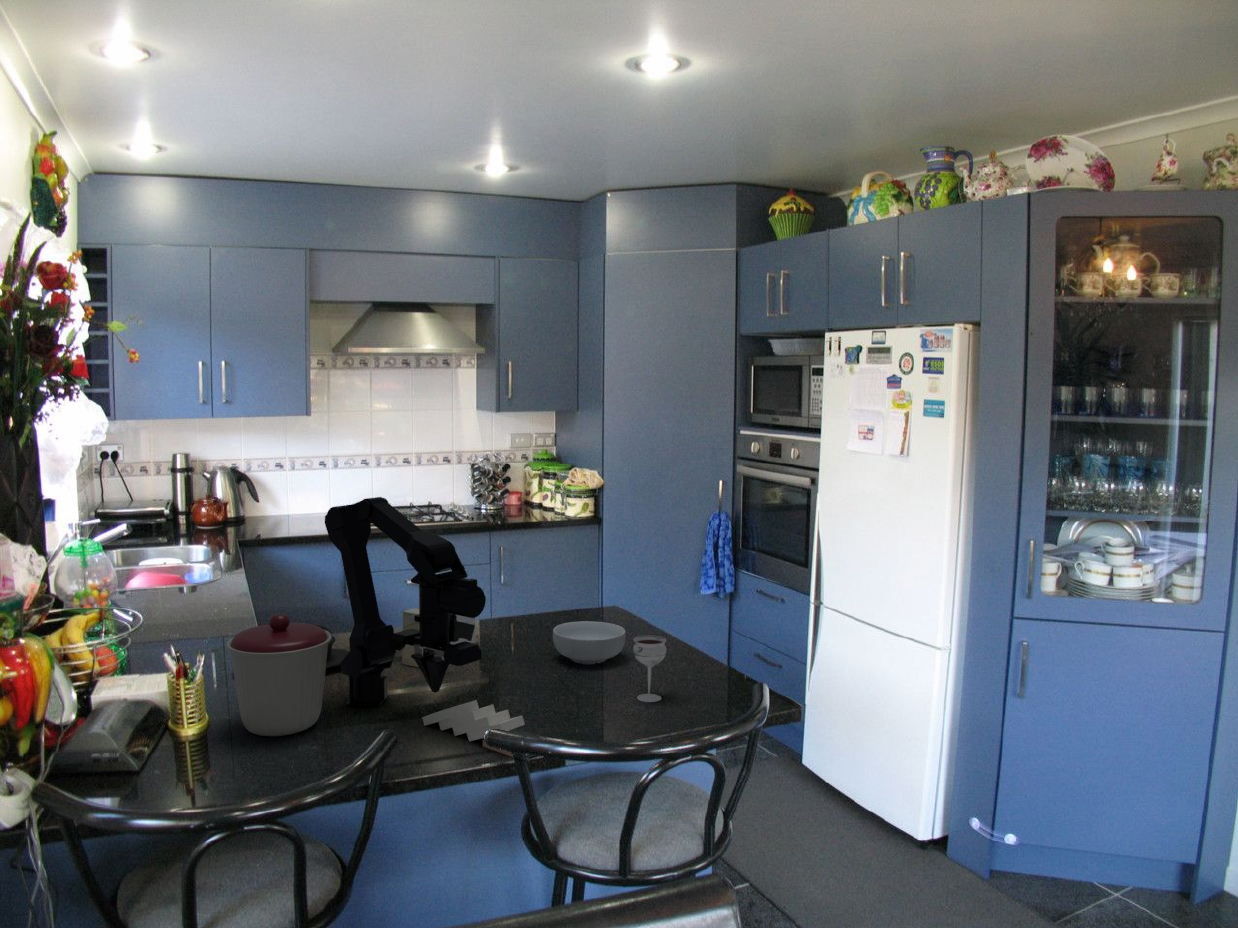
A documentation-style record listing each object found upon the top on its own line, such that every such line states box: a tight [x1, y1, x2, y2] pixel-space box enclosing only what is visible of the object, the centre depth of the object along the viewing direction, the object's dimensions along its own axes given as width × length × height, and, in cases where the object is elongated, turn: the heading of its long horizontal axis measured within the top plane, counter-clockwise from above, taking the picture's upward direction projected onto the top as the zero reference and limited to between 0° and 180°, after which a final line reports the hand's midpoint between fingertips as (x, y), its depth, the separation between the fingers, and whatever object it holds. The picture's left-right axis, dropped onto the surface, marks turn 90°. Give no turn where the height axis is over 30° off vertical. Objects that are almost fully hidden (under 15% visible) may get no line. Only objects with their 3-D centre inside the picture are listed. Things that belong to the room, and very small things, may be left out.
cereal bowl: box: [552, 620, 626, 665], centre depth 219 cm, size 17×17×7 cm
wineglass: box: [632, 634, 668, 703], centre depth 193 cm, size 7×7×12 cm
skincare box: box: [401, 607, 419, 668], centre depth 213 cm, size 6×4×12 cm
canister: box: [225, 613, 333, 737], centre depth 174 cm, size 18×18×21 cm
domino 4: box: [466, 715, 526, 742], centre depth 168 cm, size 2×5×10 cm
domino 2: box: [438, 703, 497, 731], centre depth 173 cm, size 2×5×10 cm
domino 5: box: [482, 739, 531, 760], centre depth 166 cm, size 2×5×10 cm
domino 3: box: [452, 709, 511, 737], centre depth 171 cm, size 2×5×10 cm
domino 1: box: [422, 699, 480, 727], centre depth 175 cm, size 2×5×10 cm
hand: (435, 691), depth 177 cm, fingers closed
